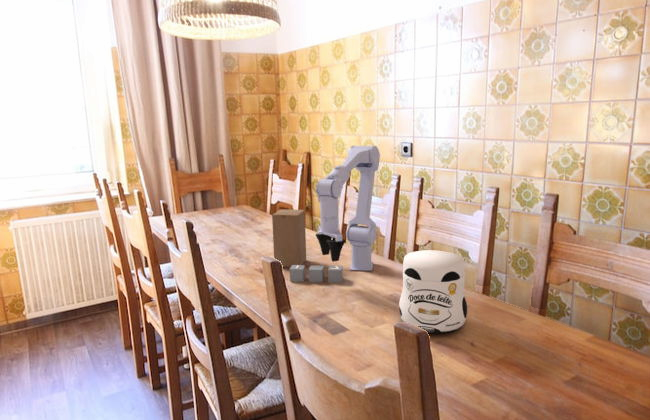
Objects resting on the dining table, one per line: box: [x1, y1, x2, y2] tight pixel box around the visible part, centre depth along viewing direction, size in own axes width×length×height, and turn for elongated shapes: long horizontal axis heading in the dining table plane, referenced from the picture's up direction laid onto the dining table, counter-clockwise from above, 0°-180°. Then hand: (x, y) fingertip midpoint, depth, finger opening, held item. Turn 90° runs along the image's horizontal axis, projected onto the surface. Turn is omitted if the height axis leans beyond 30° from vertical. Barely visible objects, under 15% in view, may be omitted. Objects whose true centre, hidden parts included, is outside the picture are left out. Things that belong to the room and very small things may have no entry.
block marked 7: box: [327, 265, 344, 284], centre depth 154 cm, size 4×4×5 cm
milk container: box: [398, 249, 468, 334], centre depth 119 cm, size 17×17×18 cm
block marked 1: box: [289, 264, 306, 283], centre depth 156 cm, size 4×4×5 cm
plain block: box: [308, 264, 325, 283], centre depth 155 cm, size 4×4×4 cm
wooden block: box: [271, 209, 307, 268], centre depth 172 cm, size 10×10×20 cm
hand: (330, 257), depth 148 cm, fingers open, 7 cm apart
